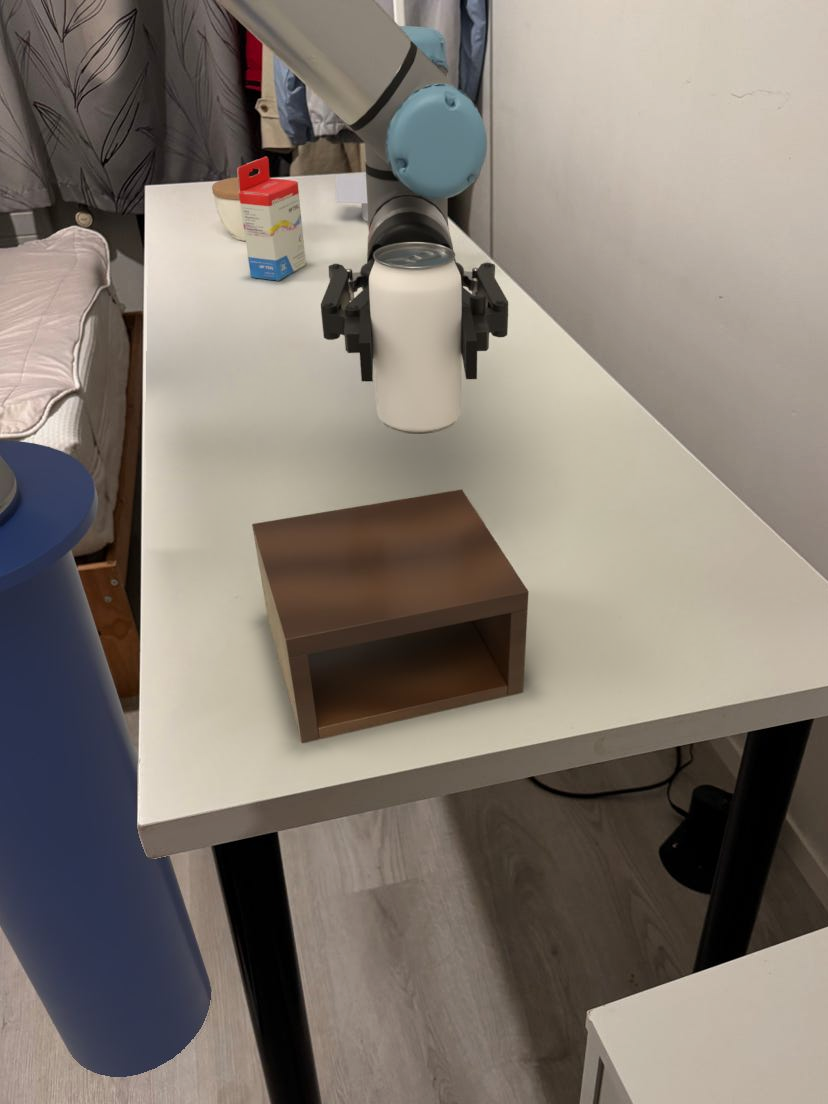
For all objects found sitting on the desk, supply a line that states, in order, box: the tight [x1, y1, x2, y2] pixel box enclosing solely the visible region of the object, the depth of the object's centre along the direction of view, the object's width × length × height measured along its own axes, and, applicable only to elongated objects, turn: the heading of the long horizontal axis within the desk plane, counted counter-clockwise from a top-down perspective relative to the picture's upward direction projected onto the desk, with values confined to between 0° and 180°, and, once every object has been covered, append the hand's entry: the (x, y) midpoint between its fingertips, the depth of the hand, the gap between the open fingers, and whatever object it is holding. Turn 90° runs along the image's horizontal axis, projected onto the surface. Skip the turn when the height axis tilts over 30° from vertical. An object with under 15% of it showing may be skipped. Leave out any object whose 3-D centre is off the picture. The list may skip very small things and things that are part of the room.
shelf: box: [251, 488, 529, 744], centre depth 67 cm, size 14×16×9 cm
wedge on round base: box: [334, 174, 368, 223], centre depth 159 cm, size 9×7×13 cm
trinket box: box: [211, 175, 272, 242], centre depth 148 cm, size 11×11×9 cm
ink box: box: [236, 155, 307, 282], centre depth 133 cm, size 8×5×15 cm, turn 160°
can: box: [369, 242, 463, 435], centre depth 67 cm, size 6×6×12 cm
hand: (419, 361), depth 63 cm, fingers closed on can, 6 cm apart
